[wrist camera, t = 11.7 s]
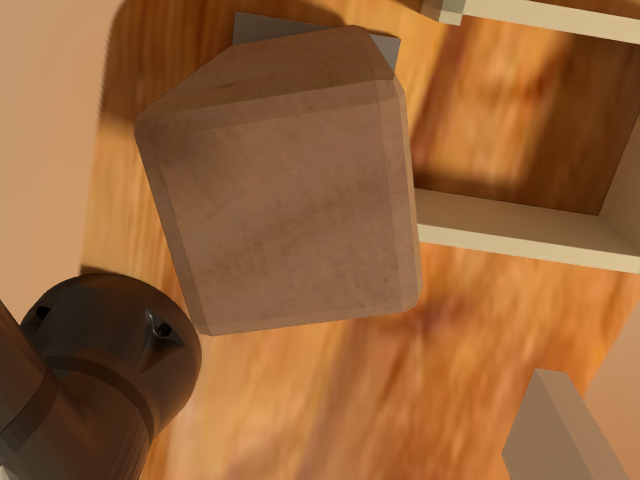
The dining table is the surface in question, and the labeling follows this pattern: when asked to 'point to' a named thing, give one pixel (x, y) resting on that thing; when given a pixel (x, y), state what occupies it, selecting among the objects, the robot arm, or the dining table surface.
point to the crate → (529, 221)
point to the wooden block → (286, 184)
